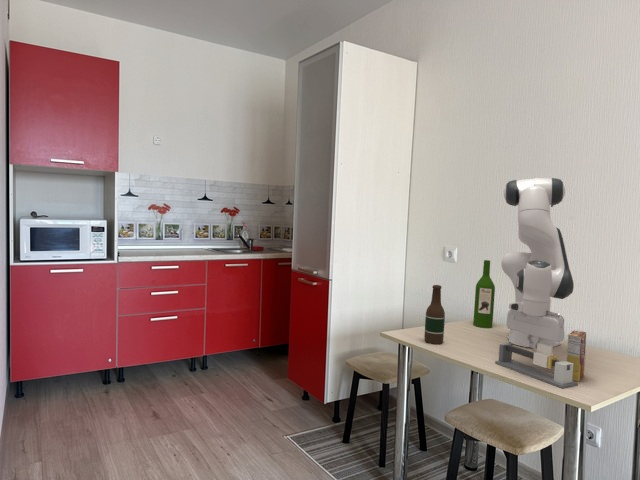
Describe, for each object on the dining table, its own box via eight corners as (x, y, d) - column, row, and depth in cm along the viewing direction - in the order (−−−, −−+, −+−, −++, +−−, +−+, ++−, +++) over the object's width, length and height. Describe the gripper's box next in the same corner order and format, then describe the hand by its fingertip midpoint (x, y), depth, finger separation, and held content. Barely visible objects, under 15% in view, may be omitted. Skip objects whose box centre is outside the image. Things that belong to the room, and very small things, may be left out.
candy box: (570, 372, 161) (573, 329, 160) (584, 375, 158) (587, 332, 157) (564, 378, 154) (567, 334, 153) (578, 382, 151) (582, 336, 150)
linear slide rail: (509, 360, 171) (511, 340, 171) (577, 385, 148) (579, 361, 148) (495, 363, 167) (496, 342, 167) (562, 388, 144) (564, 364, 144)
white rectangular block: (540, 362, 158) (542, 342, 157) (554, 366, 153) (555, 346, 153) (533, 363, 156) (534, 343, 155) (546, 368, 152) (548, 347, 151)
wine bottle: (474, 327, 223) (479, 260, 221) (471, 323, 232) (476, 259, 230) (494, 328, 221) (498, 261, 219) (490, 324, 230) (494, 260, 228)
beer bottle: (443, 345, 188) (447, 287, 186) (424, 343, 189) (427, 285, 188) (442, 340, 195) (446, 284, 194) (423, 338, 197) (427, 283, 196)
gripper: (570, 314, 150) (567, 355, 151) (516, 302, 168) (514, 339, 169) (558, 315, 147) (555, 357, 148) (505, 303, 165) (502, 341, 166)
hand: (532, 348), depth 158 cm, fingers closed
